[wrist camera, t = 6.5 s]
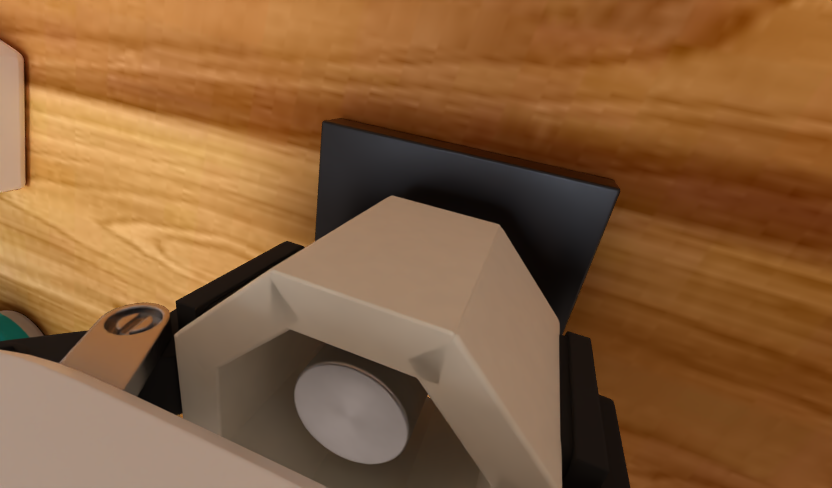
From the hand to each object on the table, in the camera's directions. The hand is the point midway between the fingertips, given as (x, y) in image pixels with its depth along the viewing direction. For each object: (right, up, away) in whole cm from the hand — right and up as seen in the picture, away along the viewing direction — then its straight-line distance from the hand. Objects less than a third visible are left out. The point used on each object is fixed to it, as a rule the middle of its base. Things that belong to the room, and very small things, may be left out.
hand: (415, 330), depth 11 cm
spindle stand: (+1, +2, +3) cm, 4 cm away
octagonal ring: (0, 0, 0) cm, 0 cm away
